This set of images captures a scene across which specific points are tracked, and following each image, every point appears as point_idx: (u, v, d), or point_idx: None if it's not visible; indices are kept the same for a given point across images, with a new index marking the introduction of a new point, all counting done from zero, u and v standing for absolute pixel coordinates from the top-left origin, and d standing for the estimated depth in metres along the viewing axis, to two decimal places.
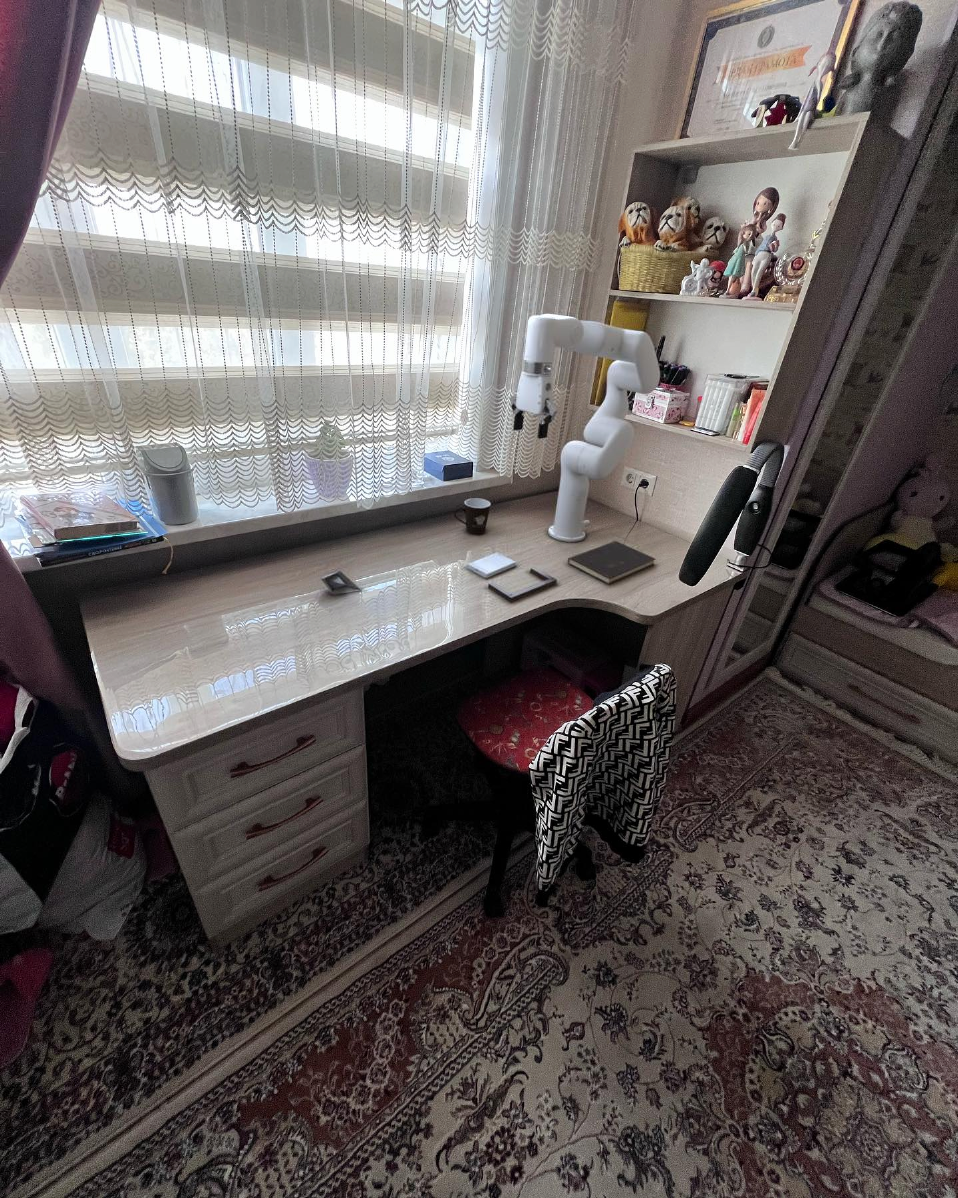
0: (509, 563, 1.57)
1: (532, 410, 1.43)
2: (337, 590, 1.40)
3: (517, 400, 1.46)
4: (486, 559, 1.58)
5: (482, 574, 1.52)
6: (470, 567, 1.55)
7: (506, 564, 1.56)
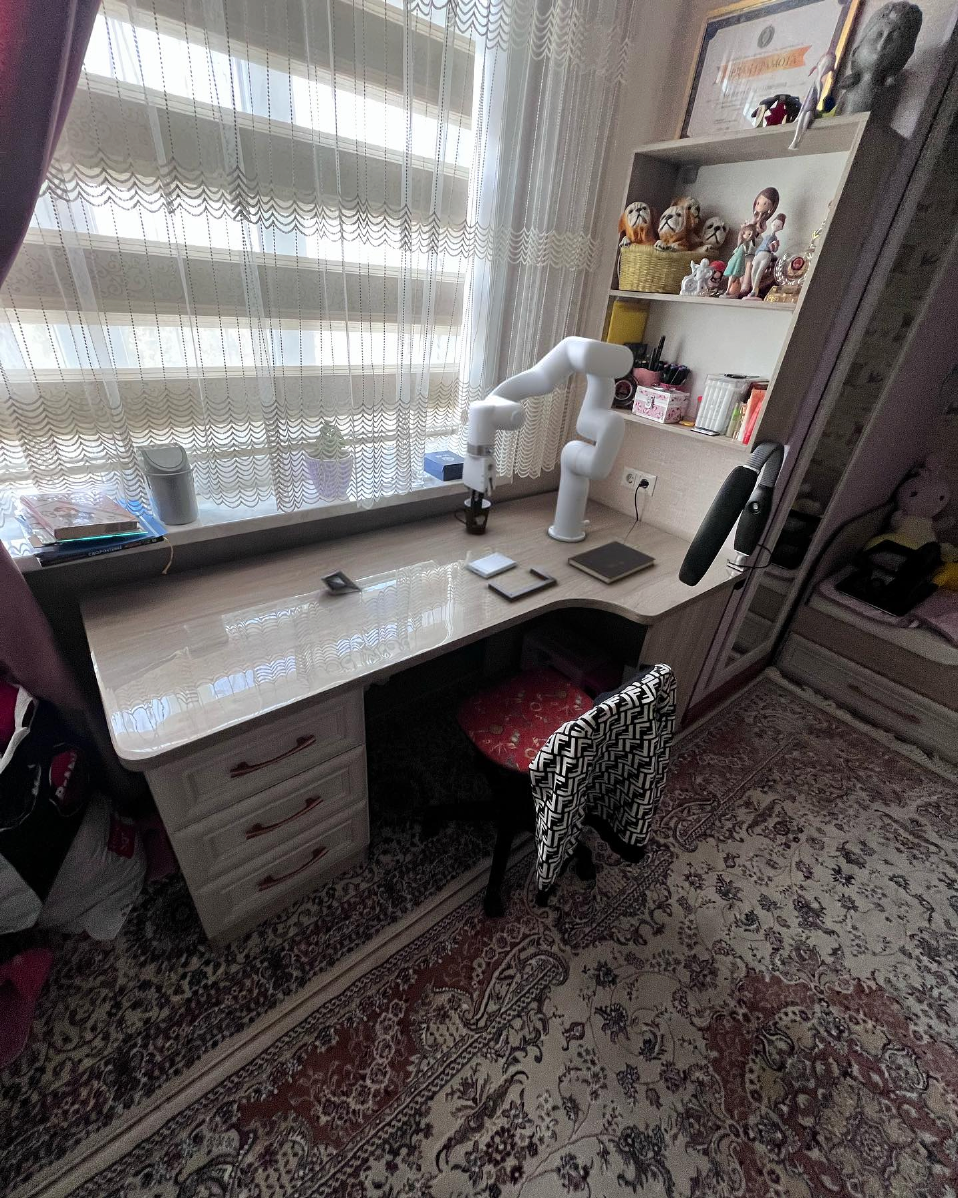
0: (509, 563, 1.57)
1: (476, 487, 1.48)
2: (337, 590, 1.40)
3: (463, 476, 1.52)
4: (486, 559, 1.58)
5: (482, 574, 1.52)
6: (470, 567, 1.55)
7: (506, 564, 1.56)
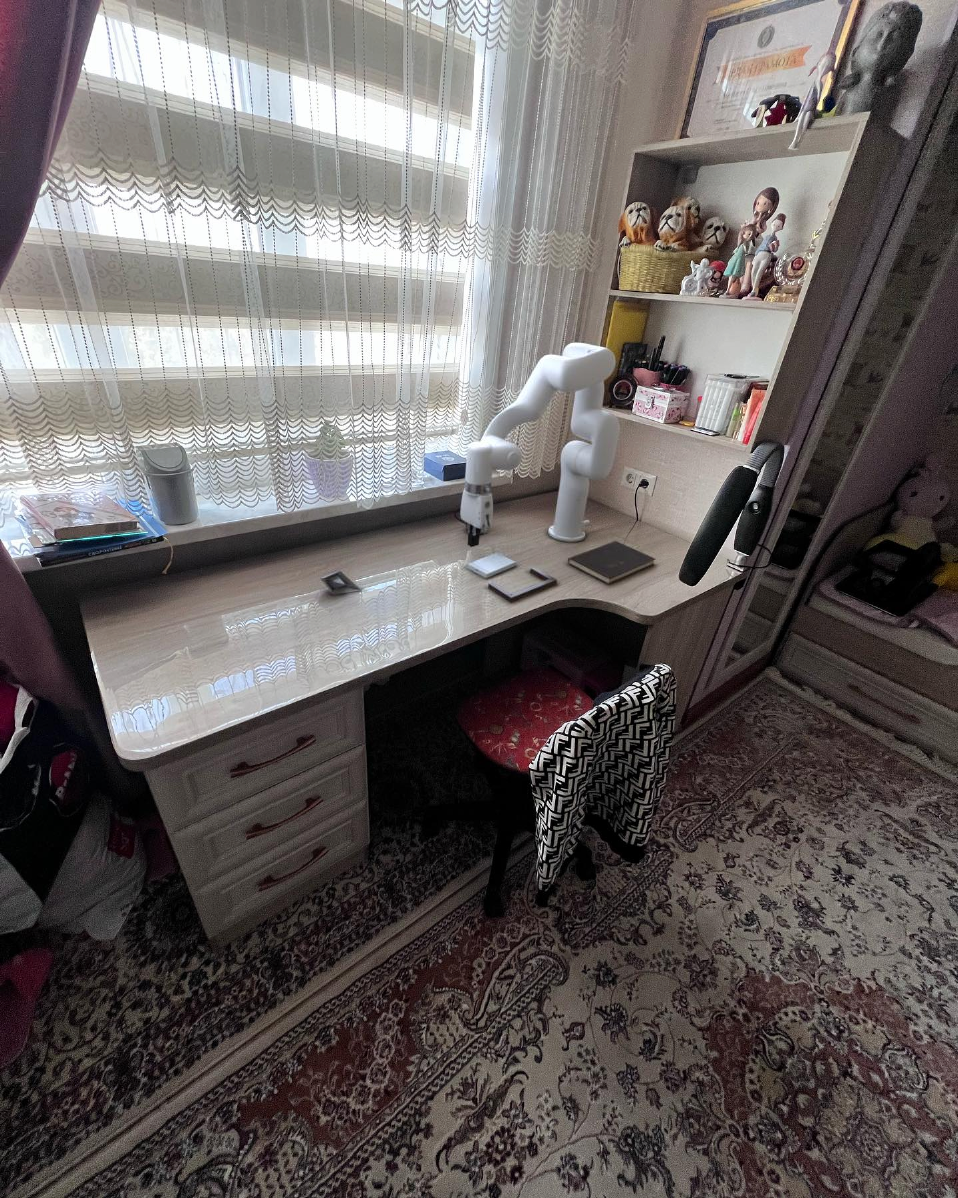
0: (509, 563, 1.57)
1: (474, 523, 1.54)
2: (337, 590, 1.40)
3: (461, 512, 1.57)
4: (486, 559, 1.58)
5: (482, 574, 1.52)
6: (470, 567, 1.55)
7: (506, 564, 1.56)
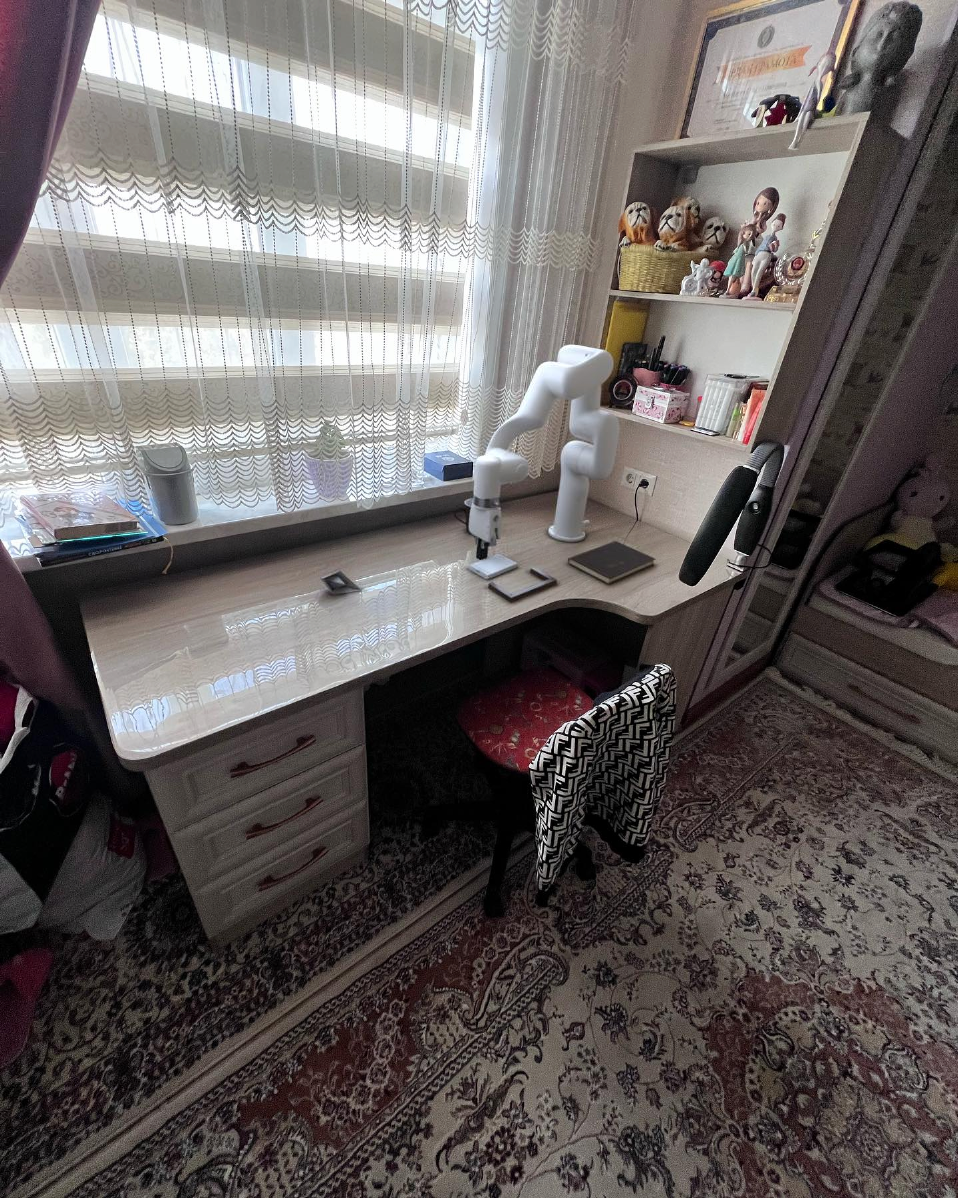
0: (511, 564, 1.56)
1: (482, 537, 1.53)
2: (337, 590, 1.40)
3: (469, 525, 1.56)
4: (487, 560, 1.58)
5: (483, 575, 1.51)
6: (471, 568, 1.54)
7: (507, 565, 1.56)
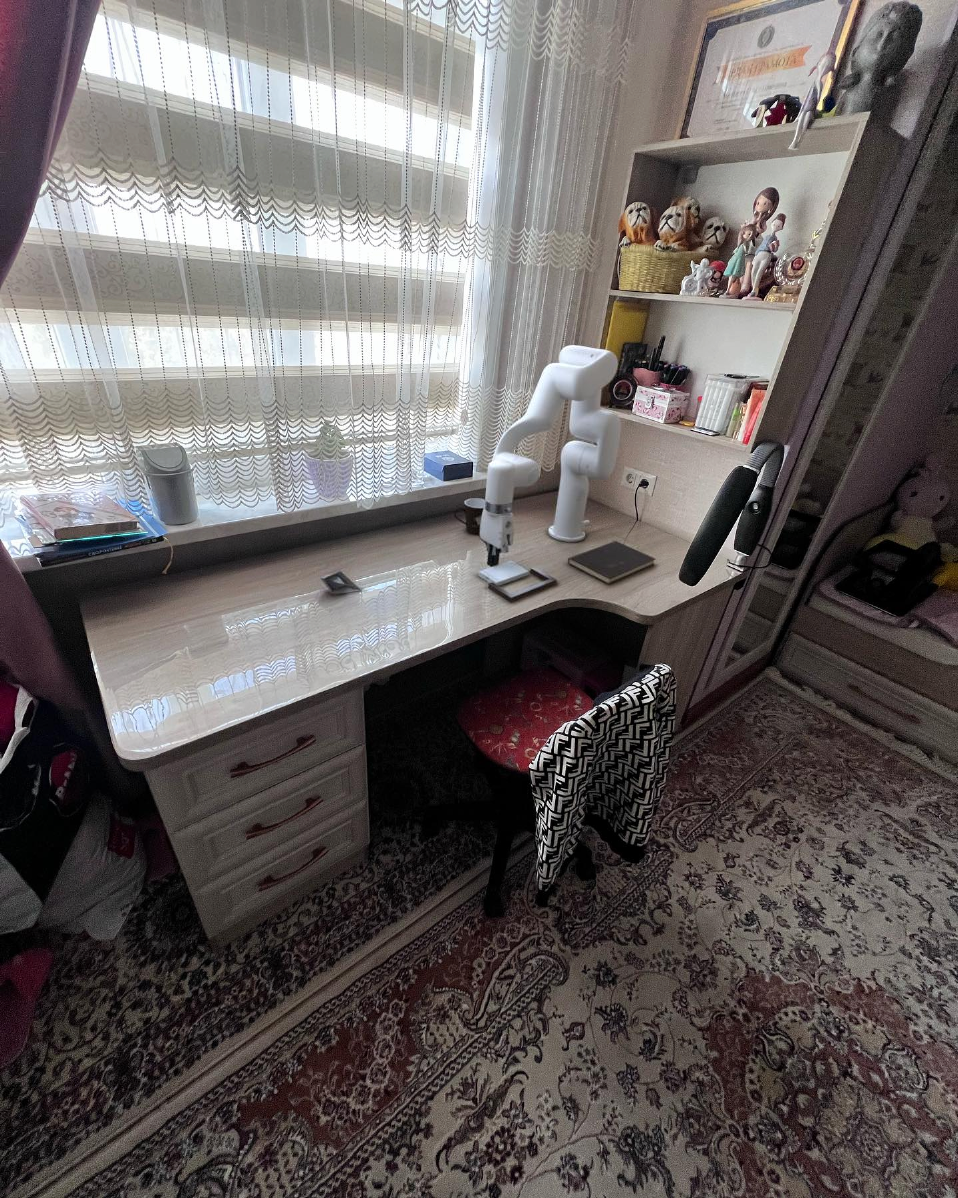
0: (521, 572, 1.53)
1: (494, 543, 1.50)
2: (337, 590, 1.40)
3: (480, 531, 1.53)
4: (498, 567, 1.54)
5: None
6: (481, 575, 1.51)
7: (518, 573, 1.52)
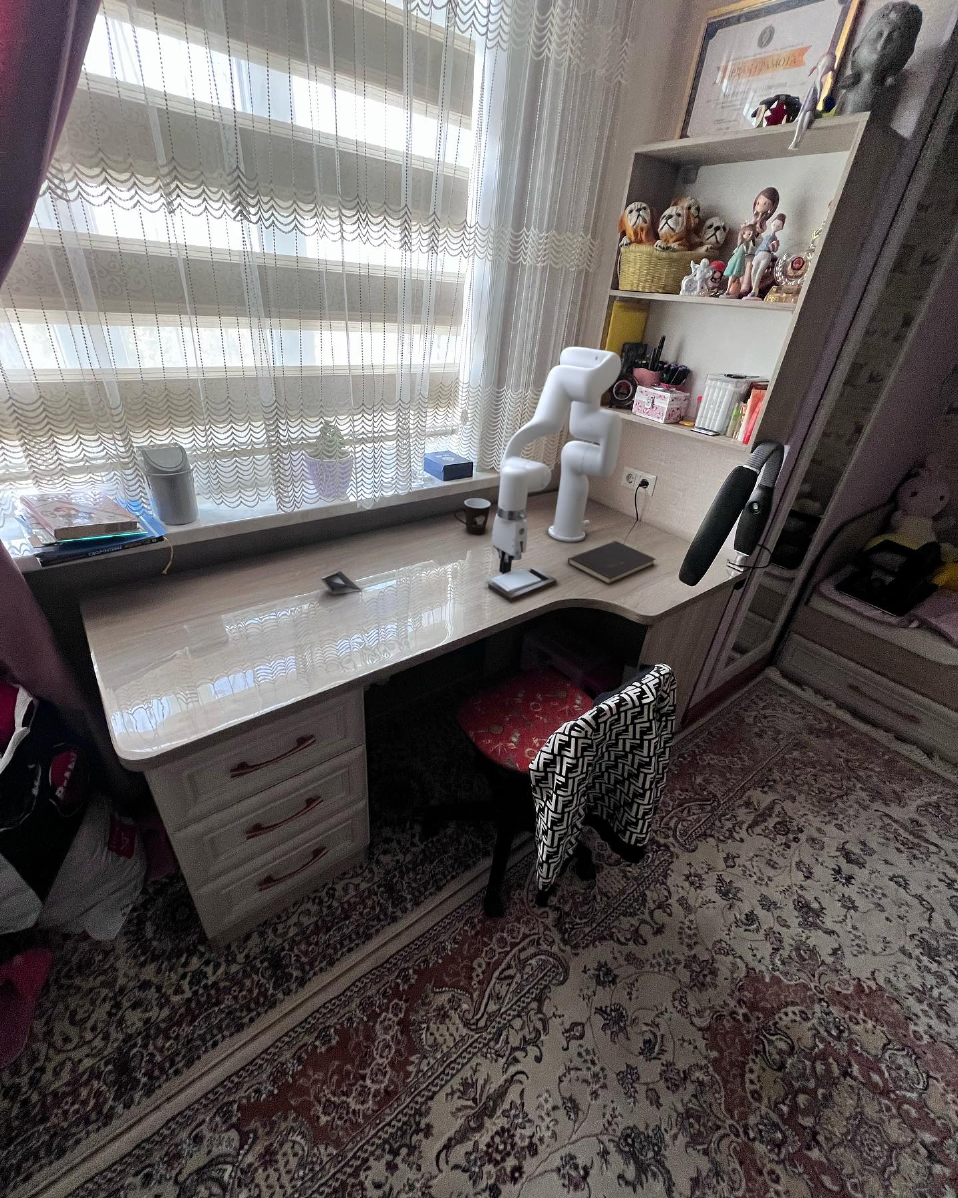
0: (534, 580, 1.49)
1: (507, 550, 1.46)
2: (337, 590, 1.40)
3: (492, 538, 1.49)
4: (510, 575, 1.51)
5: None
6: None
7: (530, 581, 1.48)
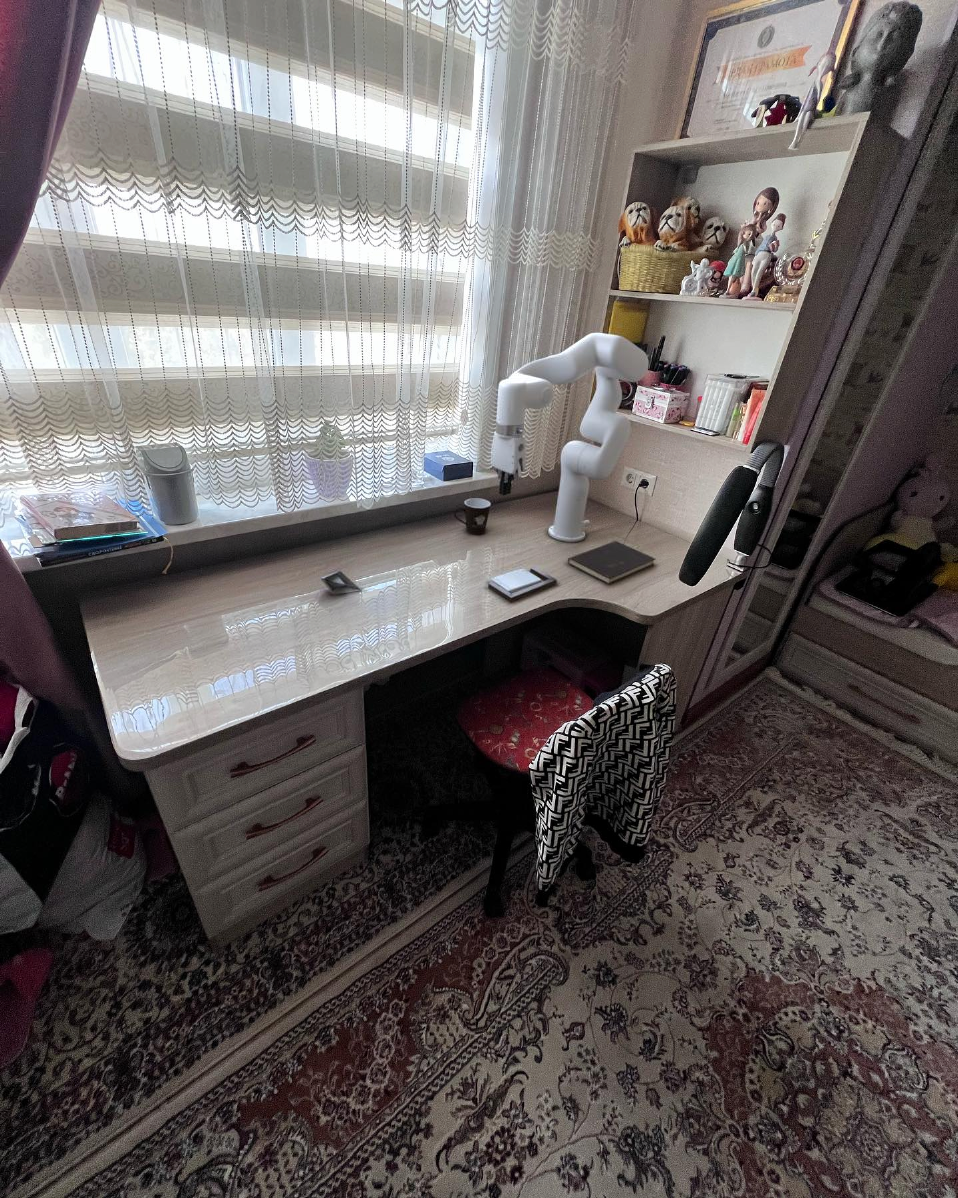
0: (534, 580, 1.49)
1: (506, 469, 1.46)
2: (337, 590, 1.40)
3: (491, 458, 1.49)
4: (510, 574, 1.51)
5: None
6: None
7: (530, 581, 1.48)
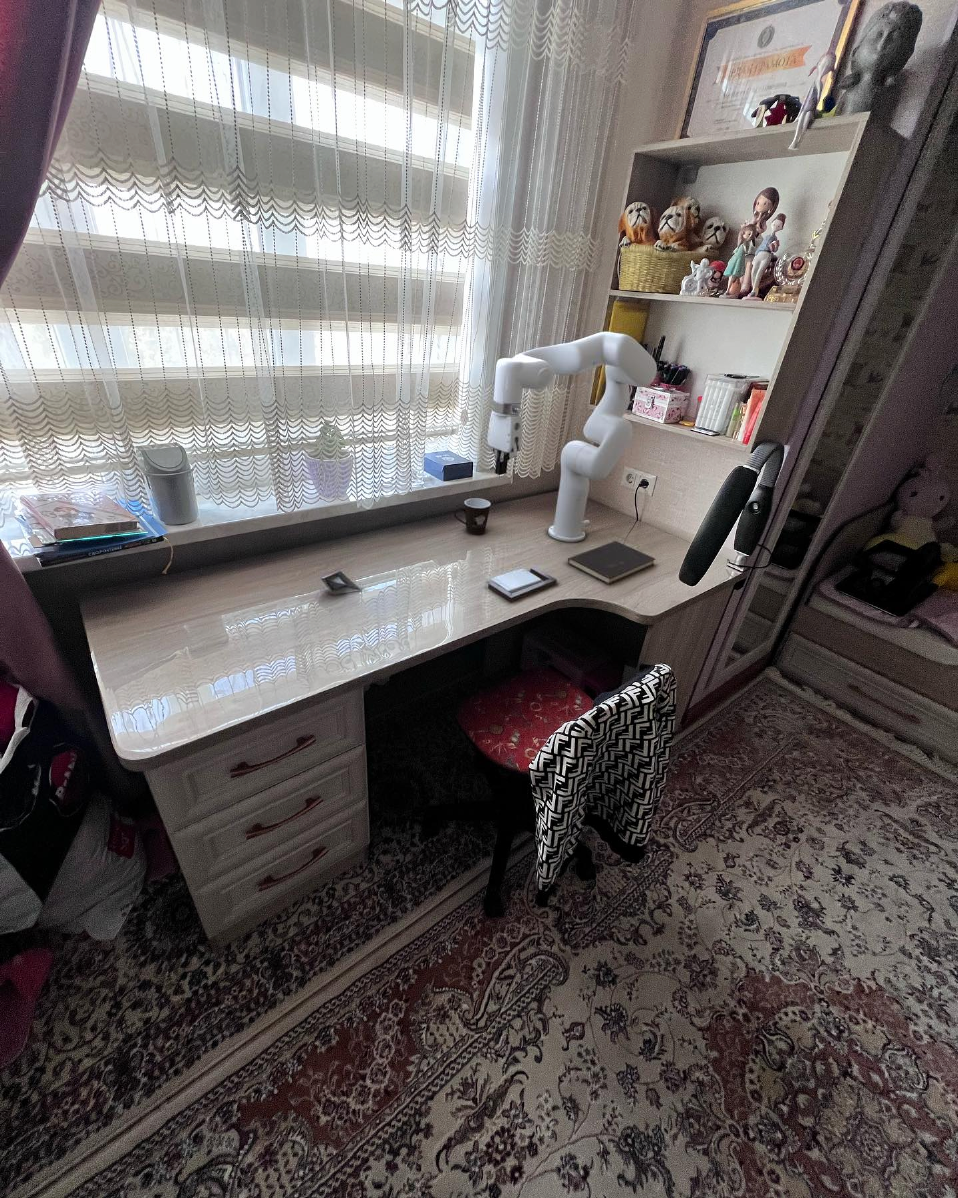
0: (534, 580, 1.49)
1: (502, 448, 1.48)
2: (337, 590, 1.40)
3: (488, 437, 1.51)
4: (510, 574, 1.51)
5: None
6: None
7: (530, 581, 1.48)
